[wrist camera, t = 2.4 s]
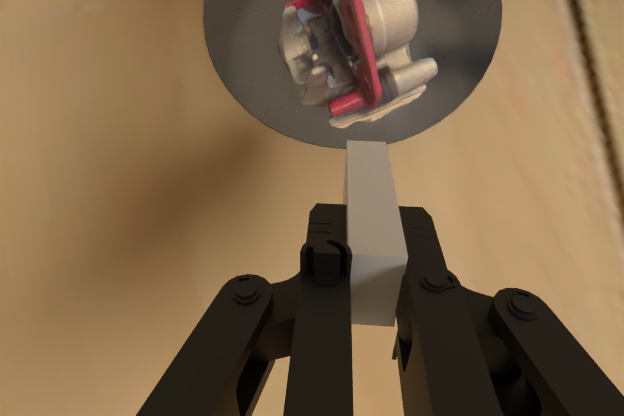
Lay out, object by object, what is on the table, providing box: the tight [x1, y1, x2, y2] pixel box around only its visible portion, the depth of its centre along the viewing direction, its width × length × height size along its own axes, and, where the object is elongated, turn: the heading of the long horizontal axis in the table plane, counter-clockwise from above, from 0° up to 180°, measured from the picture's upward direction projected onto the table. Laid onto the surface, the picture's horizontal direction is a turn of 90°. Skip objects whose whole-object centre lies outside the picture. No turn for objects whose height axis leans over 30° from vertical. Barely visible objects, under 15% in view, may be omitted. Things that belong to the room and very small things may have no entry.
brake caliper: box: [277, 0, 438, 129], centre depth 27 cm, size 11×11×12 cm
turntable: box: [204, 0, 502, 149], centre depth 32 cm, size 24×24×1 cm
